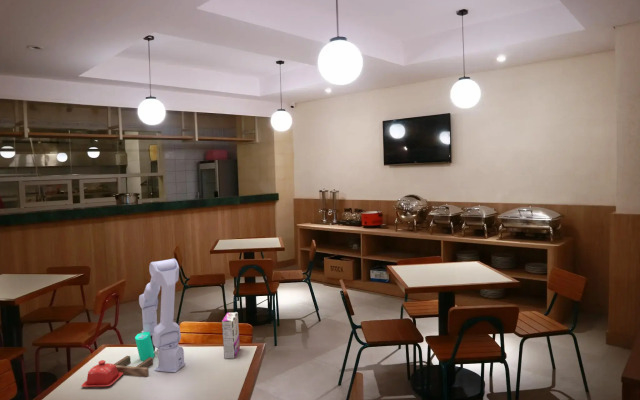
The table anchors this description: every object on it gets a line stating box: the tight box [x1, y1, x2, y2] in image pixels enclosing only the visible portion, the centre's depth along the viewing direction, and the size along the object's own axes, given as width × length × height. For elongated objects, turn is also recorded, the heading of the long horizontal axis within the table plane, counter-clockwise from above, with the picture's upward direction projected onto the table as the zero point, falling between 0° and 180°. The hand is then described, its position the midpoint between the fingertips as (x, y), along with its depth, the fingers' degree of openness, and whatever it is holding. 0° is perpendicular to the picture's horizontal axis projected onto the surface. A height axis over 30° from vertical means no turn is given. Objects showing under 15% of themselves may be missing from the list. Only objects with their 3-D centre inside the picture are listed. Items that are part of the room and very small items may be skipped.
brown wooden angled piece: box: [113, 355, 154, 378], centre depth 186 cm, size 20×10×3 cm, turn 77°
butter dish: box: [81, 359, 123, 388], centre depth 175 cm, size 12×12×8 cm
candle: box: [134, 332, 155, 362], centre depth 195 cm, size 6×6×12 cm
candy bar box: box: [221, 311, 241, 360], centre depth 198 cm, size 11×5×16 cm, turn 179°
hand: (151, 352), depth 199 cm, fingers closed
